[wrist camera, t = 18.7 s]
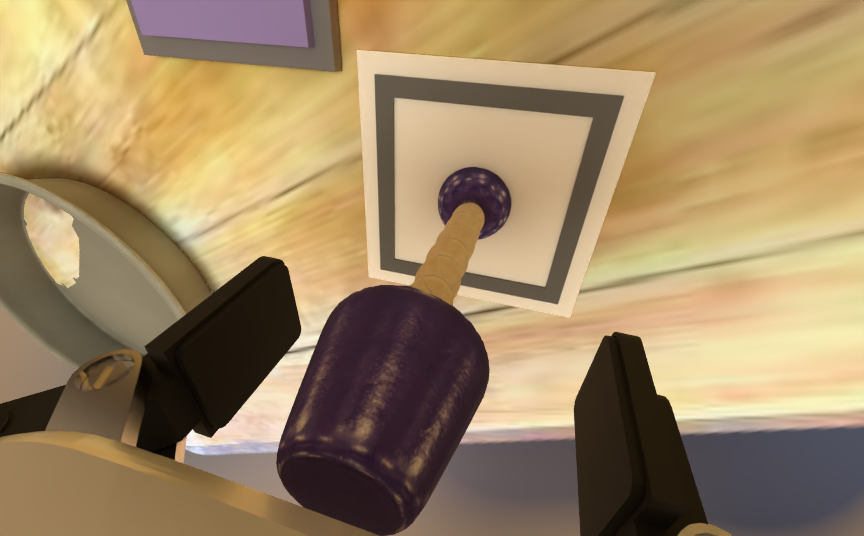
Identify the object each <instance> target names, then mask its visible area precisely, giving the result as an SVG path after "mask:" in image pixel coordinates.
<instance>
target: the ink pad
mask: <svg viewBox="0 0 864 536" xmlns="http://www.w3.org/2000/svg"><path fill="white" fill-rule="evenodd" d="M126 1H127V4H128V7H129V10H130V13H131V16H132V19H133V22H134V25H135V28H136V31H137V34H138V37H139V40H140V43H141V46H142V49H143V52H144V55H153V56H164V57H176V58H187V59H198V60H210V61H221V62H232V63H243V64H255V65H266V66H277V67H289V68H300V69H311V70H322V71H334V72H336V71H342V62H341V49H340V35H339V22H338V9H337V0H126Z"/></svg>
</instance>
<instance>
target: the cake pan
mask: <svg viewBox="0 0 864 536" xmlns="http://www.w3.org/2000/svg"><path fill="white" fill-rule="evenodd" d="M29 193H31V194H33V195H35V196H38V197H40V198H42V199H44V200H46V201H48V202H50V203H51V204H53V205H55V206H57V207H59V208H60V209H62V210H64V211H65V212H67V213H68V214H70V215H72V216H73V218H74V220H73V224H72V226H73V228H74V230H75V232H76V233H77V235H78V237H79V247H80V264H79V278H78V279H75V278H73V279H74V280H75V282H76V284H74V285H72V286H71V287H69V288H67V287H66V286H65V285H64V286H65V287H64V286H62V285H59V284H57V283H56V282H55V281H54V279H53V278H52V277H51V275H50V274H49V273H48V271H47V270H46V269H45V267H44V266H43V264H42V262H41V261H40V259H39V258H38V256H37V254H36V252H35V250H34V248H33V246H32V243H31V241H30V239H29V236H28V233H27V230H26V225H27V223H26V222H25V220H24V204H25V200H26V198H27V196H28V194H29ZM210 295H212V294H211V292H210V290H209V288H208V286H207V284H206V283H205V281H204V280H203V278H202V276H201V275H200V274H199V272H198V271H197V269H196V268H195V267H194V265H193V264H192V263H191V261H190V260H189V259H188V258H187V256H186V255H185V254H184V253H183V252H182V251H181V250H180V248H179V247H178V246H177V245H176V244H175V243H174V242H173V241H172V240H171V239H170V238H169V237H168V236H167V235H166V234H165V233H164V232H163V231H162V230H161V229H159V228H158V227H157V226H156V225H155V224H154V223H152V222H151V221H150V220H149V219H147V218H146V217H145V216H143V215H142V214H141V213H140V212H138V211H137V210H135V209H134V208H132V207H131V206H130V205H128V204H126V203H125V202H123V201H122V200H120V199H118V198H116V197H115V196H113V195H111V194H109V193H107V192H105V191H103V190H101V189H99V188H97V187H94V186H92V185H89V184H86V183H83V182H79V181H75V180H71V179H65V178H44V179H23V178H20V177H17V176H14V175H10V174H7V173H1V172H0V308H1V309H2V310H3V311H4V312H5V313H6V314H7V315H8V316H9V317H10V318H11V319H12V320H13V321H14V322H15V323H16V324H17V325H18V326H19V327H20V328H21V329H22V330H24V331H25V332H26V333H27V334H28V335H29V336H30V337H32V338H33V339H34V340H35V341H36V342H38V343H39V344H40V345H41V346H42V347H44V348H45V349H46V350H48V351H49V352H51V353H52V354H53V355H55V356H56V357H57V358H59V359H60V360H61V361H63V362H64V363H66V364H67V365H69V366H70V367H72V368H73V369H75V370H77V369H78V368H79V367H80V366H82V365H83V364H85V363H86V362H88V361H89V360H91V359H93V358H95V357H97V356H99V355H101V354H104V353H108V352H111V351H115V350H122V349H128V350H134V351H136V352H139V354H140V355H141V356H142V357H143V356H145V355H146V354H147V353H148V352H147V351H146V349H145V347H144V346H145V345H147V344H148V343H149V342H151V341H152V340H153V339H155V338H156V337H157V336H158V335H160V334H161V333H162V332H164V331H165V330H166V329H167V328H169V327H170V326H171V325H173V324H174V323H175V322H177V321H178V320H179V319H180V318H182V317H183V316H184V315H186V314H187V313H188V312H189V311H191V310H192V309H193V308H195V307H196V306H197V305H199V304H200V303H201V302H202V301H204V300H205V299H206V298H208V297H209V296H210Z"/></svg>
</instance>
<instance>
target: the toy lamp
mask: <svg viewBox="0 0 864 536" xmlns="http://www.w3.org/2000/svg"><path fill="white" fill-rule="evenodd" d="M510 210H511V196H510V193H509V189H508V188H507V186H506V184H505V183H504V181H503V180H502V179H501V178H500V177H499V176H498V175H497V174H495V173H493V172H491V171H490V170H487V169H484V168H478V167H467V168H462V169H460V170H458V171H455V172H454V173H453V174H451V175H450V176H449V177H448V178H447V179H446V180H445V182H444V183H443V184H442V186H441V188H440V191H439V195H438V211H439V215H440V218H441V220H442V222H443V224H444V225H445V228H444V230H443V231H442V232H441V233H440V234H439V236H438V237H437V240H436V243H435V244H434V245H433V246H432V247H431V249H430V250H429V252H428V254H427V256H426V260H425V262H424V263H423V264H422V265H421V266H420V268H419V270H418V271H417V273H416V276H415V280H414V282H413V283H412V284H411V285H410V286H395V285H379V286H375V287H368V288H364V289H363V290H361V291H357V292H355V293H353V294H351V295H350V296H348V297H347V298H346V299H344V300H343V301H341V302H340V303H339V304H338V306H337V307H336V308H335V309H334V310H333V311H332V313H331V314H330V316H329V318H328V320H327V322H326V324H325V326H324V328H323V330H322V332H321V335H320V337H319V340H318V342H317V345H316V348H315V350H314V352H313V355H312V357H311V360H310V362H309V365H308V368H307V370H306V373H305V376H304V378H303V381H302V383H301V386H300V388H299V391H298V394H297V396H296V399H295V401H294V404H293V407H292V409H291V412H290V415H289V417H288V420H287V423H286V425H285V428H284V431H283V434H282V436H281V440H280V444H279V448H278V453H277V462H276V463H277V470H278V474H279V476H280V479H281V481H282V483H283V485H284V487H285V488H286V490H287V491H288V492H289V494H290V495H291V496H292V497H293V498H294V499H295V500H296V501H297V502H298V503H300V504H301V505H302V506H303V507H304V508H306V509H309V510H312V511H314V512H317V513H320V514H322V515H325V516H328V517H330V518H333V519H336V520H339V521H341V522H344V523H347V524H349V525H352V526H355V527H357V528H360V529H363V530H366V531H368V532H371V533H374V534H376V535H379V536H387V535H393V534H396V533H398V532H401V531H403V530H404V529H406V528H407V527H409V526H410V525H411V524H412V523H413V522H414V520H415V519H416V518H417V516H418V515H419V514H420V512H421V511H422V509H423V508H424V507H425V505H426V504H427V502H428V500H429V498H430V497H431V495H432V493H433V491H434V490H435V488H436V486H437V484H438V482H439V481H440V479H441V477H442V475H443V473H444V471H445V469H446V467H447V465H448V463H449V462H450V460H451V458H452V456H453V454H454V452H455V451H456V449H457V447H458V445H459V443H460V441H461V439H462V437H463V436H464V434H465V432H466V430H467V428H468V426H469V424H470V422H471V420H472V418H473V416H474V414H475V412H476V410H477V409H478V407H479V405H480V403H481V401H482V399H483V397H484V394H485V391H486V388H487V384H488V381H489V360H488V356H487V352H486V350H485V346H484V343H483V341H482V339H481V337H480V335H479V334H478V333H477V331H476V330H475V328H474V326H473V325H472V323H471V322H470V321H469V320H467V319H466V318H465V317H464V316H463V315H462V314H461V313H460V311H458V310H457V309H456V308H455V307H453V299H454V298H455V296H456V295H457V293H458V291H459V288H460V285H461V278H462V277H463V275H464V274H465V272H466V270H467V267H468V262H469V259H470V258H471V256H472V254H473V252H474V249H475V244H476V242H477V240H480V239H484V238H487V237H490V236H491V235H493V234H495V233H496V232H497V231H498V230H500V229H501V228H502V227H503V225H504V224H505V222H506V221H507V219H508V217H509V215H510Z"/></svg>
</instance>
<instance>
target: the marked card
mask: <svg viewBox="0 0 864 536" xmlns="http://www.w3.org/2000/svg"><path fill="white" fill-rule="evenodd" d="M357 64H358V83H359V102H360V121H361V139H362V158H363V177H364V196H365V215H366V233H367V252H368V271H369V277H371V278H376V279H381V280H386V281H391V282H396V283H401V284H406V285H411V284H412V283H413V282H414V280H415V276H416V273H417V271H418V270H419V268H420V266H421V265H422V264H423V263H424V262H425V260H426V256H427V254H428V252H429V250H430V249H431V247H432V246H433V245H434V244H435V243H436V240H437V237H438V236H439V234H440V233H441V232H442V231H443V230H444V228H445V225H444V224H443V222H442V220H441V218H440V215H439V211H438V195H439V191H440V188H441V186H442V184H443V183H444V182H445V180H446V179H447V178H448V177H449V176H450V175H451V174H453V173H454V172H455V171H458V170H460V169H462V168H467V167H478V168H484V169H487V170H490V171H491V172H493V173H495V174H497V175H498V176H499V177H500V178H501V179H502V180H503V181H504V183H505V184H506V186H507V188H508V189H509V193H510V196H511V210H510V215H509V217H508V219H507V221H506V222H505V224H504V225H503V227H502V228H501V229H500V230H498V231H497V232H496V233H495V234H493V235H491V236H490V237H487V238H484V239H480V240H477V242H476V244H475V249H474V252H473V254H472V256H471V258H470V259H469V262H468V267H467V270H466V272H465V274H464V275H463V277H462V278H461V285H460V288H459V291H458V293H457V295H460V296H465V297H470V298H475V299H480V300H485V301H489V302H494V303H499V304H504V305H509V306H514V307H519V308H524V309H529V310H534V311H539V312H544V313H549V314H554V315H559V316H563V317H568V318H570V316H571V313H572V310H573V308H574V305H575V302H576V299H577V296H578V293H579V290H580V288H581V285H582V282H583V279H584V276H585V273H586V271H587V268H588V265H589V262H590V259H591V256H592V253H593V251H594V248H595V245H596V242H597V239H598V236H599V234H600V231H601V228H602V225H603V222H604V219H605V217H606V214H607V211H608V208H609V205H610V202H611V199H612V197H613V194H614V191H615V188H616V185H617V182H618V180H619V177H620V174H621V171H622V168H623V165H624V163H625V160H626V157H627V154H628V151H629V148H630V145H631V143H632V140H633V137H634V134H635V131H636V128H637V126H638V123H639V120H640V117H641V114H642V111H643V109H644V106H645V103H646V100H647V97H648V94H649V91H650V89H651V86H652V83H653V80H654V77H655V74H656V72H646V71H633V70H619V69H606V68H593V67H579V66H566V65H553V64H540V63H526V62H513V61H500V60H486V59H473V58H460V57H446V56H433V55H420V54H407V53H393V52H380V51H367V50H357Z"/></svg>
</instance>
